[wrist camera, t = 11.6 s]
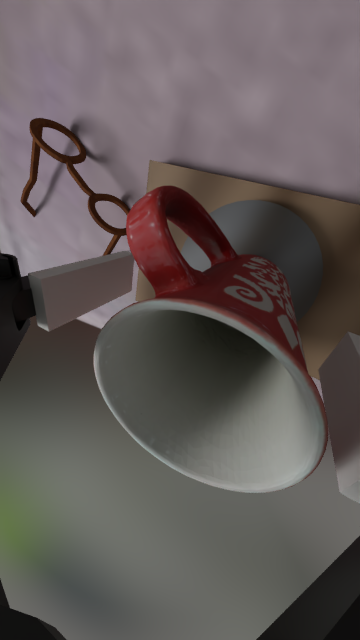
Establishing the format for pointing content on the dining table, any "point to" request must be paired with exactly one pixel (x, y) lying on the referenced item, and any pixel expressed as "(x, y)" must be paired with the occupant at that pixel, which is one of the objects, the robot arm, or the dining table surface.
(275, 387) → the mug
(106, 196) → the glasses
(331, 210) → the board
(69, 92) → the dining table surface
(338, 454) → the robot arm
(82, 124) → the dining table surface
